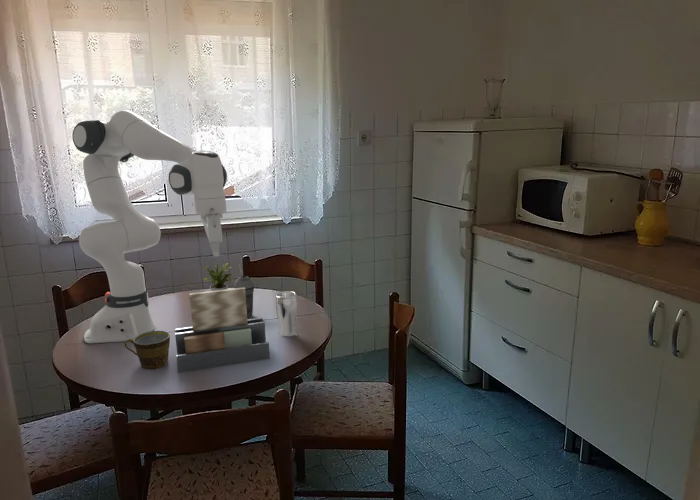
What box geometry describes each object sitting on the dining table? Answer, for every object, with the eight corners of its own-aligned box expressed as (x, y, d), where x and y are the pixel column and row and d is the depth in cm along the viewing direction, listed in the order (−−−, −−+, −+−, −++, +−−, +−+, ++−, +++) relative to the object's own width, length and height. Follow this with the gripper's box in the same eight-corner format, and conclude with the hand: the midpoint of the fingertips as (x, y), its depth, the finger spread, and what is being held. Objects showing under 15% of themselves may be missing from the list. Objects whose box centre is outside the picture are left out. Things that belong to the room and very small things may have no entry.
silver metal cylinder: (300, 339, 172) (298, 296, 168) (279, 342, 170) (277, 298, 166) (296, 331, 178) (294, 290, 175) (276, 334, 176) (273, 292, 173)
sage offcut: (222, 359, 155) (220, 334, 153) (221, 357, 157) (219, 332, 155) (252, 355, 157) (251, 330, 156) (251, 352, 159) (250, 328, 157)
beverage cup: (251, 320, 189) (248, 267, 184) (233, 319, 190) (229, 266, 186) (259, 313, 196) (255, 262, 191) (240, 312, 197) (237, 261, 192)
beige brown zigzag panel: (195, 358, 156) (189, 294, 151) (195, 356, 158) (189, 293, 153) (249, 350, 161) (245, 288, 156) (248, 348, 162) (244, 287, 157)
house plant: (202, 309, 201) (198, 269, 197) (196, 299, 213) (192, 260, 209) (238, 303, 207) (236, 264, 203) (231, 293, 219) (228, 256, 215)
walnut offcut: (187, 368, 149) (184, 339, 147) (187, 365, 151) (184, 337, 149) (226, 363, 153) (224, 334, 151) (225, 360, 155) (223, 331, 152)
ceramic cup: (177, 360, 158) (174, 330, 156) (166, 376, 149) (163, 344, 146) (134, 361, 158) (130, 331, 156) (121, 377, 148) (116, 345, 146)
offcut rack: (178, 377, 148) (175, 343, 145) (178, 361, 158) (175, 328, 155) (270, 363, 155) (268, 330, 153) (264, 348, 166) (262, 317, 163)
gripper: (225, 210, 145) (229, 259, 148) (218, 202, 163) (222, 245, 167) (201, 212, 143) (206, 261, 146) (197, 203, 162) (202, 247, 165)
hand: (215, 252), depth 156 cm, fingers open, 8 cm apart
